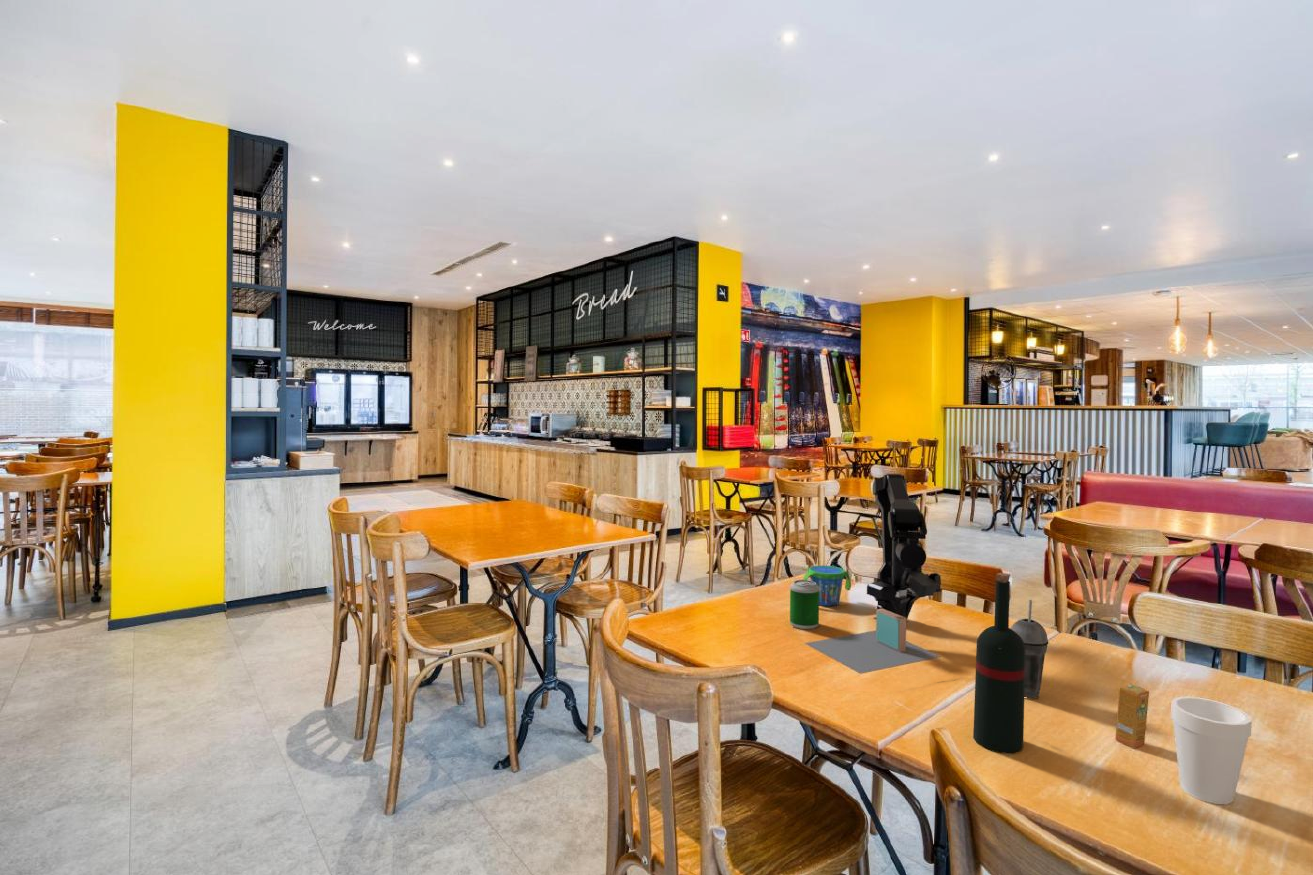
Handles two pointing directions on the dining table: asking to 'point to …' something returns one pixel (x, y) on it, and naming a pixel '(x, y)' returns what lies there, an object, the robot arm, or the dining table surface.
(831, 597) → the snack cup
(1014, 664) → the wine bottle
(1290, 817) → the dining table surface
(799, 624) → the soda can
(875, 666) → the slate mat
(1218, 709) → the foam cup
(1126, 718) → the supplement box
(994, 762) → the dining table surface
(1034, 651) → the beverage cup
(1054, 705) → the dining table surface
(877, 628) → the terracotta tile
